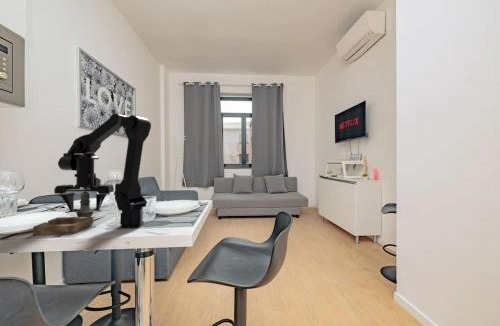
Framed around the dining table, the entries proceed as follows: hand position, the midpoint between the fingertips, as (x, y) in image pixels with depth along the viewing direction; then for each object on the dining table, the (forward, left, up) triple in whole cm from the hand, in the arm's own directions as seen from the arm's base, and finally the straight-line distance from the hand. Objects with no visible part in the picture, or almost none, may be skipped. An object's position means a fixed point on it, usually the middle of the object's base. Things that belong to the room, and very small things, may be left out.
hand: (85, 211), depth 95 cm
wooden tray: (+1, +11, -4) cm, 12 cm away
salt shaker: (0, 0, -4) cm, 4 cm away
